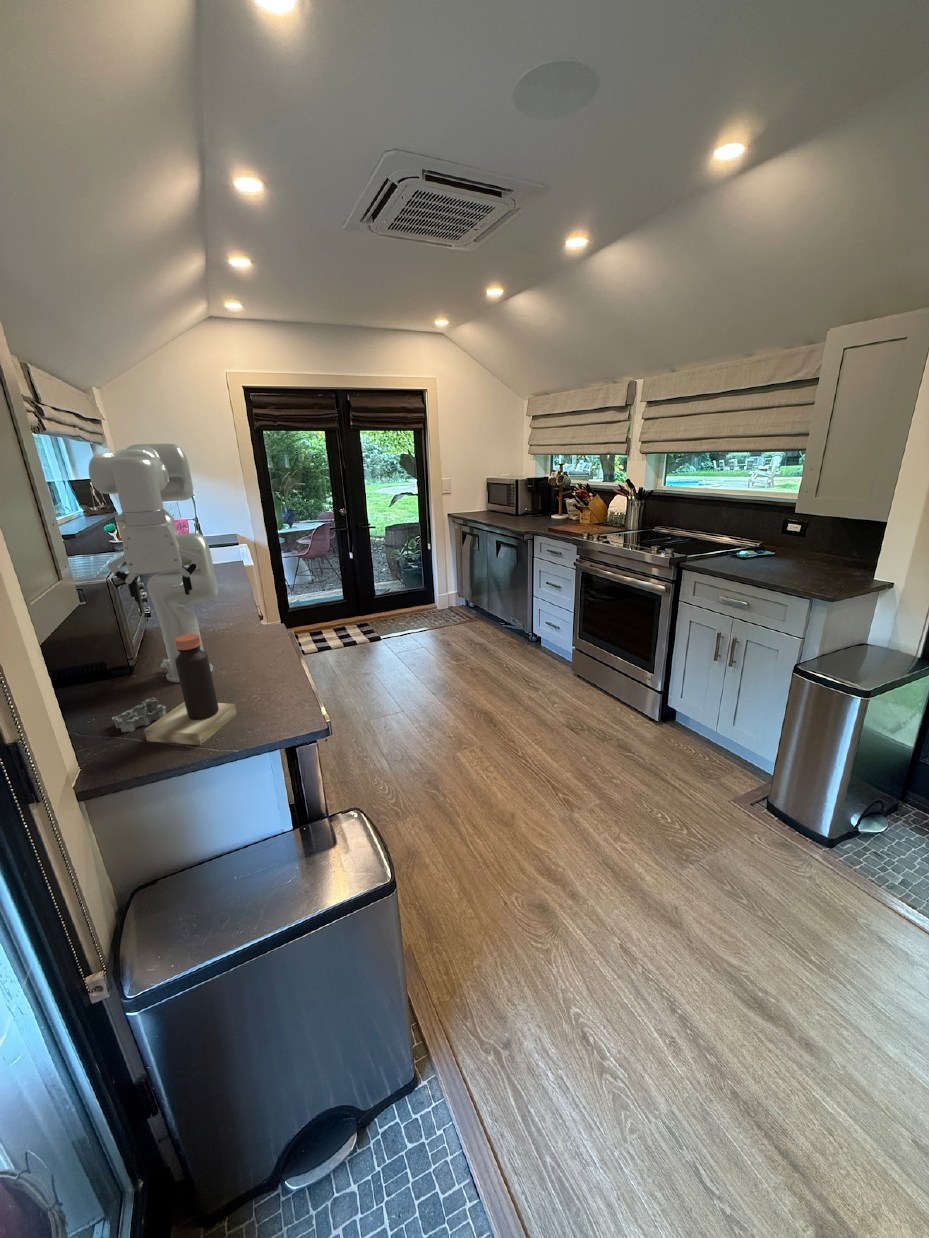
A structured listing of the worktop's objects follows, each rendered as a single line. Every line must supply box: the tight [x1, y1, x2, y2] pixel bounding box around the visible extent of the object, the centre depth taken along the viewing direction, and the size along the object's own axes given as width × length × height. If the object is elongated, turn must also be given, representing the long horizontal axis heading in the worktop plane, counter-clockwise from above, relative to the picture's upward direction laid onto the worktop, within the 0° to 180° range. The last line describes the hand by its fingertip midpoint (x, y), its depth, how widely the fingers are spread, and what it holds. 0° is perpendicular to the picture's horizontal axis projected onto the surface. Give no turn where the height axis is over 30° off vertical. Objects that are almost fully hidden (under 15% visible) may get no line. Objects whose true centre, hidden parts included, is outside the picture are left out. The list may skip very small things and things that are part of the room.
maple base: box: [143, 701, 238, 746], centre depth 119 cm, size 14×14×3 cm
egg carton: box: [111, 696, 167, 733], centre depth 123 cm, size 11×8×4 cm
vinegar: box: [175, 634, 219, 720], centre depth 117 cm, size 7×7×20 cm
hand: (163, 596), depth 109 cm, fingers open, 9 cm apart
